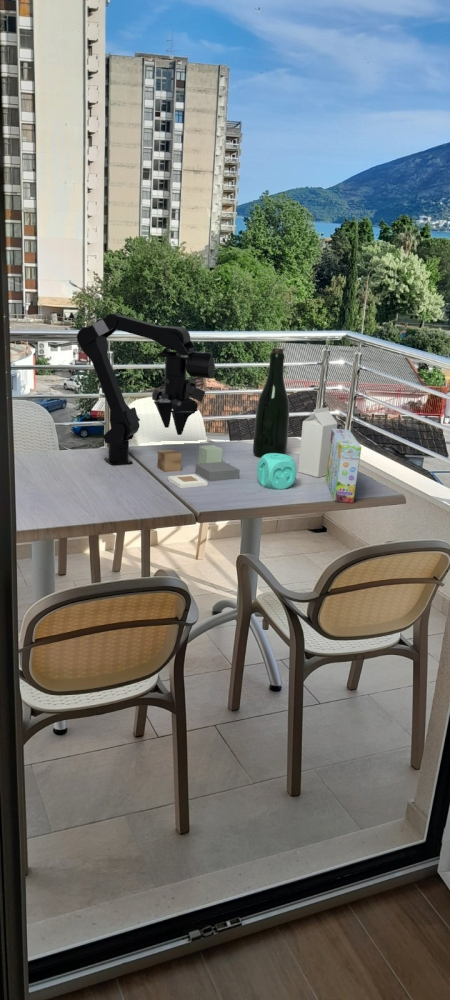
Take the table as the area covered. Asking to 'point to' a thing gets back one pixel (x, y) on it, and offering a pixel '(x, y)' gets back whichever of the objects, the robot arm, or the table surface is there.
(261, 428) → the green wine bottle
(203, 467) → the charcoal base block
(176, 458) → the walnut cube
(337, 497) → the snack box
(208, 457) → the sage cube
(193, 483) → the tile
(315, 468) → the milk carton
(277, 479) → the decorative dice
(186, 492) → the table surface
